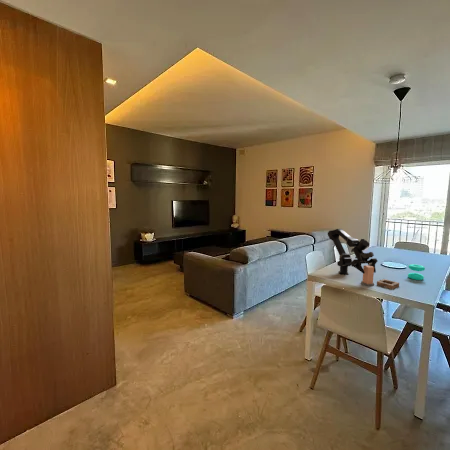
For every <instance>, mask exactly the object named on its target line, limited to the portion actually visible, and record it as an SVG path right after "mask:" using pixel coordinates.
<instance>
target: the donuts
mask: <svg viewBox="0 0 450 450" xmlns="http://www.w3.org/2000/svg"><path fill="white" fill-rule="evenodd" d="M408 268H409V270H410V271H415V272H409V273H408V274H407V277H408V278H409V279H412V280H416V281H422V280H425V276H424V274H421V273H418V272H424V271H425V270H426V267H425V266H423V265H422V264H416V263H414V264H413V263H412V264H409V265H408Z"/></svg>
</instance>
